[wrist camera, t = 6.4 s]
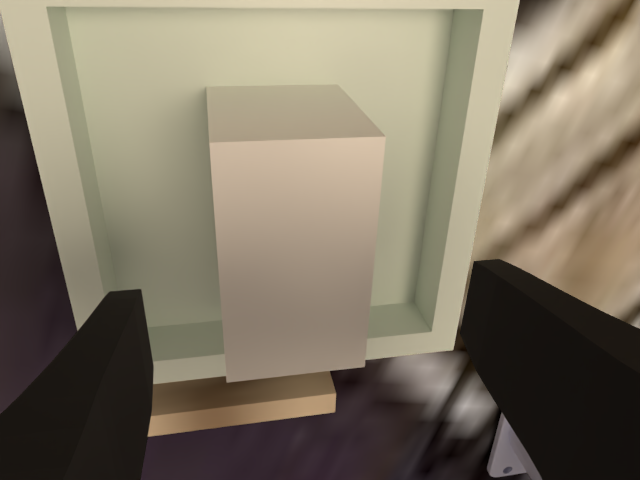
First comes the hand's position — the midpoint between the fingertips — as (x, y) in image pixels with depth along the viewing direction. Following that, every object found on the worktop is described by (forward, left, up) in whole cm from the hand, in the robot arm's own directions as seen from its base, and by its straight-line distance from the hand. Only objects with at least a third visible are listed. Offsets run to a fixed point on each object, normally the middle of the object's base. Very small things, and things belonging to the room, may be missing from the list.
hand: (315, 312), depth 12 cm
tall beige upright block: (0, 0, -7) cm, 7 cm away
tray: (0, 0, -8) cm, 8 cm away
